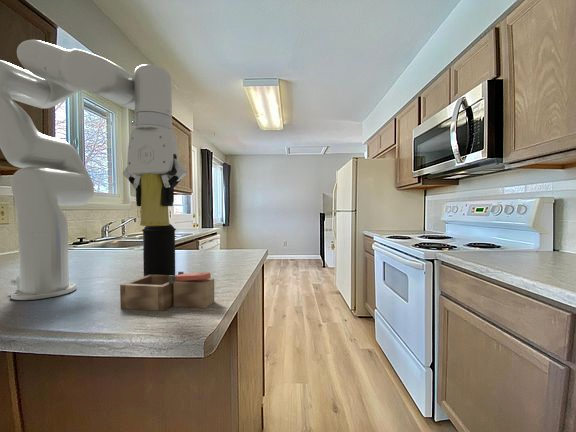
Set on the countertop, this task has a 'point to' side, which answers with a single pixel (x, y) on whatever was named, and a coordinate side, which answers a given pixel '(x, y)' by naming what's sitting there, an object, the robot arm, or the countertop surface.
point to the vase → (153, 201)
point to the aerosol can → (159, 250)
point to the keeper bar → (192, 276)
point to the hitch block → (166, 293)
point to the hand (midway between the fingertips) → (155, 205)
